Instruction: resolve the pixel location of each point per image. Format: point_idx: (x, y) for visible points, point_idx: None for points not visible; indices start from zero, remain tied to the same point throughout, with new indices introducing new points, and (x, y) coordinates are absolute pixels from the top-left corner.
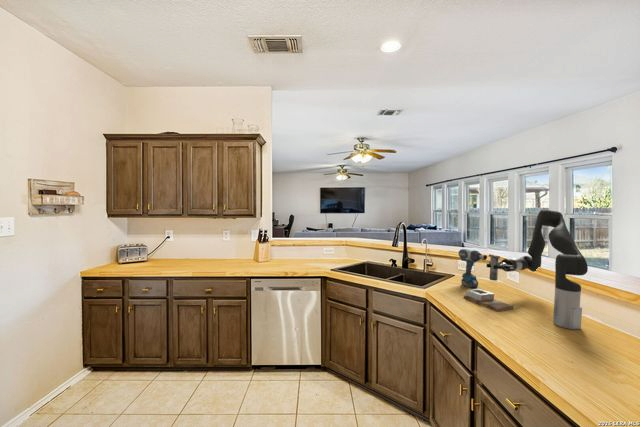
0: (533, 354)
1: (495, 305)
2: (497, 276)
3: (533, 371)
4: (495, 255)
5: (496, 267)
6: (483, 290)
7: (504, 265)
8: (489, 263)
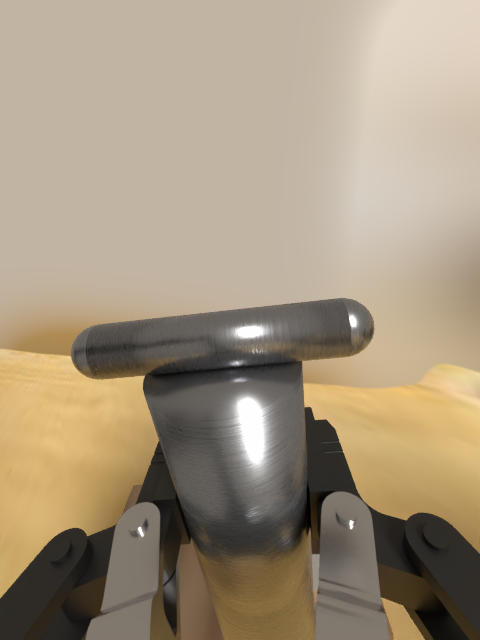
0: (16, 378)
1: None
2: (216, 615)
3: (22, 353)
4: (189, 316)
5: None
6: (314, 578)
7: (50, 551)
8: (316, 444)
